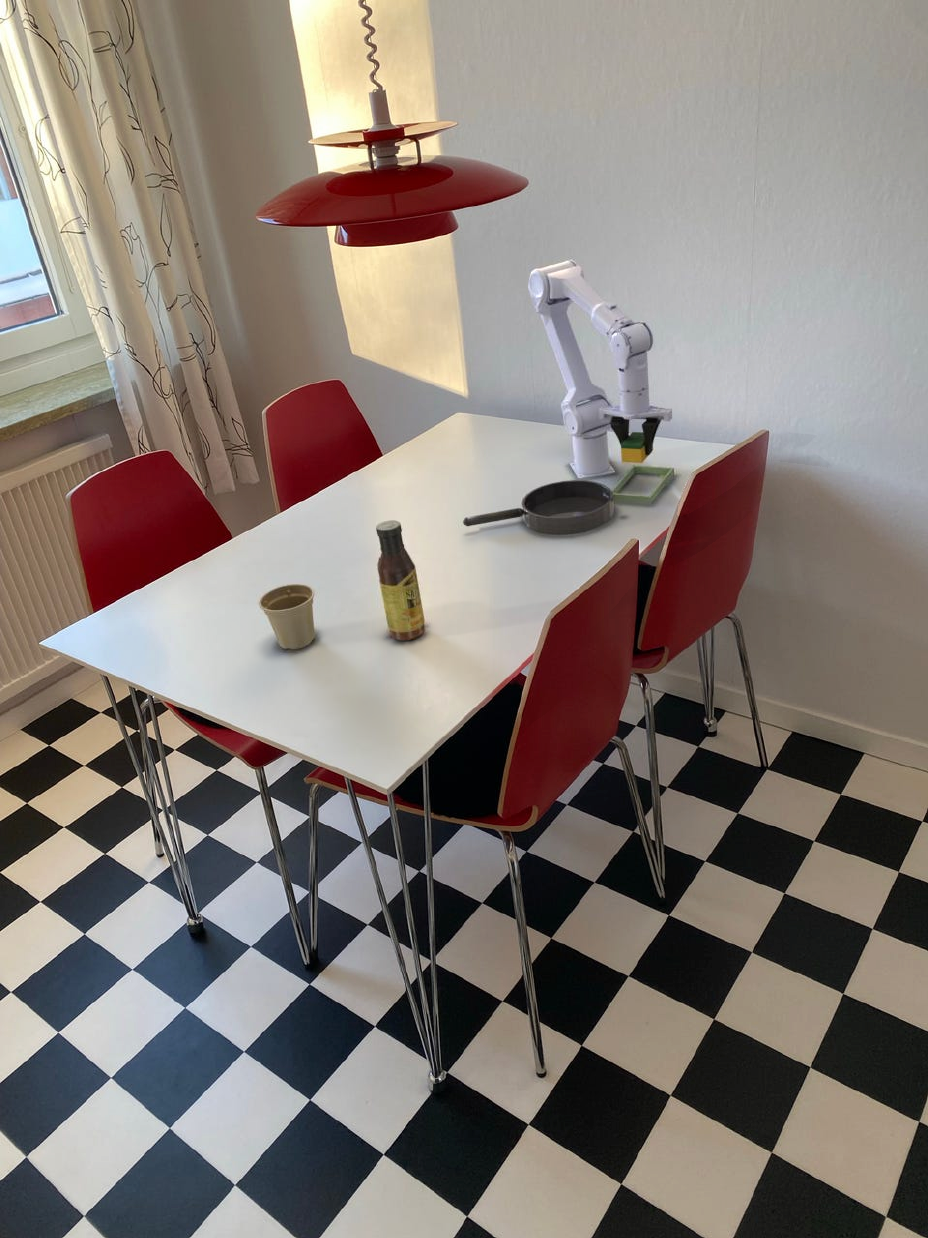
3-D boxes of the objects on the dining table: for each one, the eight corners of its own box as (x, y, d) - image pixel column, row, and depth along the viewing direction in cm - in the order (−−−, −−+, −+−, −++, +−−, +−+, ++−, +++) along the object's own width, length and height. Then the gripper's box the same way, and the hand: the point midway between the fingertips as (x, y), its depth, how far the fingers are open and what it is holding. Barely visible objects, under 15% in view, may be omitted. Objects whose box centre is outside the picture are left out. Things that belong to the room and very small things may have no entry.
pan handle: (523, 514, 196) (522, 505, 195) (524, 517, 195) (523, 509, 194) (463, 524, 196) (461, 516, 195) (464, 528, 194) (463, 520, 193)
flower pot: (299, 621, 175) (288, 578, 170) (336, 634, 169) (325, 590, 165) (259, 646, 169) (247, 603, 165) (295, 660, 163) (283, 616, 159)
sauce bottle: (421, 642, 163) (401, 534, 153) (385, 642, 164) (363, 535, 154) (430, 621, 168) (411, 516, 158) (395, 622, 170) (374, 517, 160)
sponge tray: (633, 473, 211) (633, 465, 210) (674, 476, 207) (674, 467, 206) (608, 502, 200) (607, 493, 199) (651, 505, 196) (650, 497, 195)
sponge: (633, 449, 203) (632, 431, 201) (653, 450, 201) (652, 432, 199) (621, 462, 198) (620, 444, 196) (641, 463, 196) (640, 445, 194)
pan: (517, 507, 204) (514, 489, 202) (601, 492, 205) (600, 474, 203) (532, 543, 189) (530, 524, 187) (624, 526, 189) (623, 507, 187)
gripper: (591, 393, 193) (596, 458, 200) (663, 395, 186) (665, 462, 193) (604, 381, 198) (609, 445, 205) (674, 383, 191) (676, 448, 198)
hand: (637, 452), depth 199 cm, fingers closed on sponge, 4 cm apart
